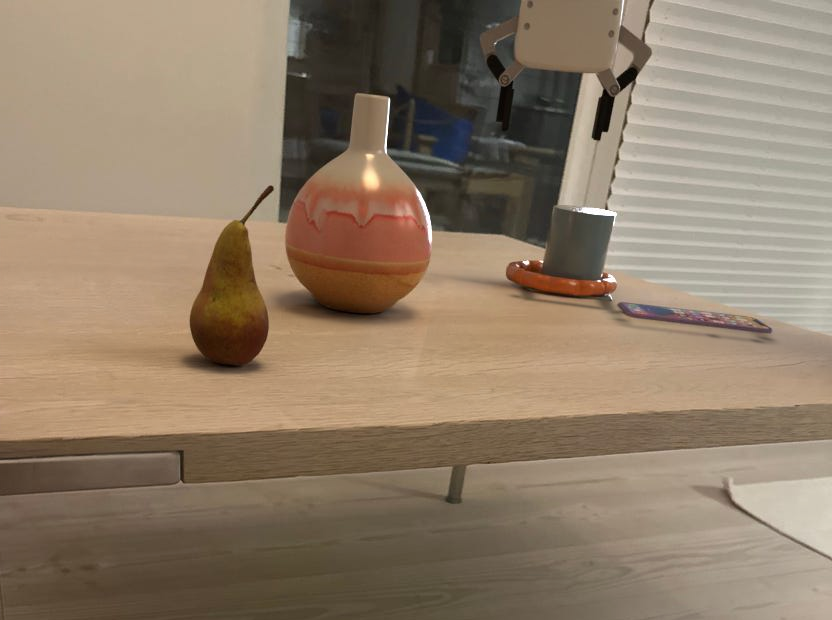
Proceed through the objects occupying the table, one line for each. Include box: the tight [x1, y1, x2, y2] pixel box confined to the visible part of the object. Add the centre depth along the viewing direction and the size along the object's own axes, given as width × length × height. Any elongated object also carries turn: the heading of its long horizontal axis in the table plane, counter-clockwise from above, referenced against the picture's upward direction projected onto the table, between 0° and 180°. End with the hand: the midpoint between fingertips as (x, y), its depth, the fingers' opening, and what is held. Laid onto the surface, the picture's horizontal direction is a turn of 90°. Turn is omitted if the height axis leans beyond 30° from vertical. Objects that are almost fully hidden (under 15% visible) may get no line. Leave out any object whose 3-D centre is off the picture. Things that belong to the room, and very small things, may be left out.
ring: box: [505, 259, 618, 296], centre depth 105 cm, size 12×12×2 cm
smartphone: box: [617, 301, 773, 334], centre depth 97 cm, size 1×7×15 cm
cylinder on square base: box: [526, 204, 617, 302], centre depth 103 cm, size 9×9×9 cm
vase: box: [284, 92, 433, 314], centre depth 84 cm, size 14×14×18 cm
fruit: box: [189, 185, 275, 366], centre depth 65 cm, size 6×6×12 cm
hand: (549, 135), depth 97 cm, fingers open, 9 cm apart
